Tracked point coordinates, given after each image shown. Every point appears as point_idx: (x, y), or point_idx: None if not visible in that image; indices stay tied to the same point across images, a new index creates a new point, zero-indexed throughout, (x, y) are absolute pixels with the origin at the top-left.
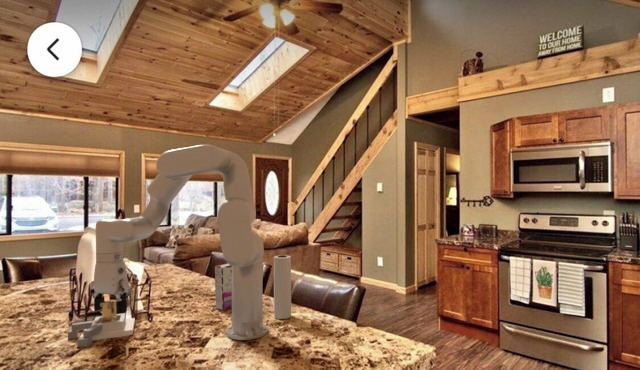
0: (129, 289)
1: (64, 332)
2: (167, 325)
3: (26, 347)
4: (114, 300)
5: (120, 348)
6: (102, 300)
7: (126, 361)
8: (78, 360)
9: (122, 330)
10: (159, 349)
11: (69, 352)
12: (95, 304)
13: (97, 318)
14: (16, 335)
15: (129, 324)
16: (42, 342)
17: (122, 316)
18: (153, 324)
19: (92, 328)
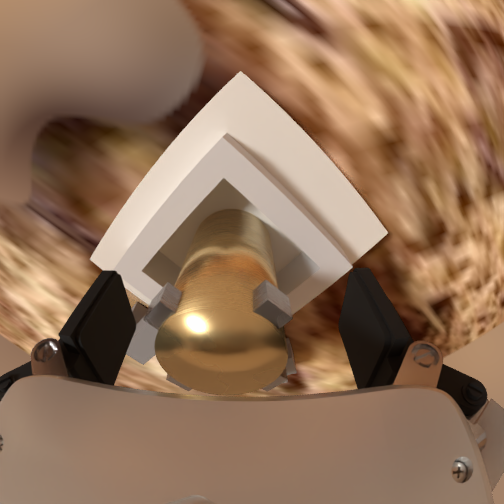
0: (502, 429)
1: (76, 299)
2: (444, 82)
3: (127, 385)
4: (229, 327)
5: (408, 319)
6: (97, 331)
7: (451, 346)
8: (343, 389)
9: (346, 255)
10: (496, 278)
11: None
12: (119, 360)
13: (148, 284)
14: (23, 340)
15: (313, 175)
16: None
17: (271, 203)
18: (377, 76)
19: None
